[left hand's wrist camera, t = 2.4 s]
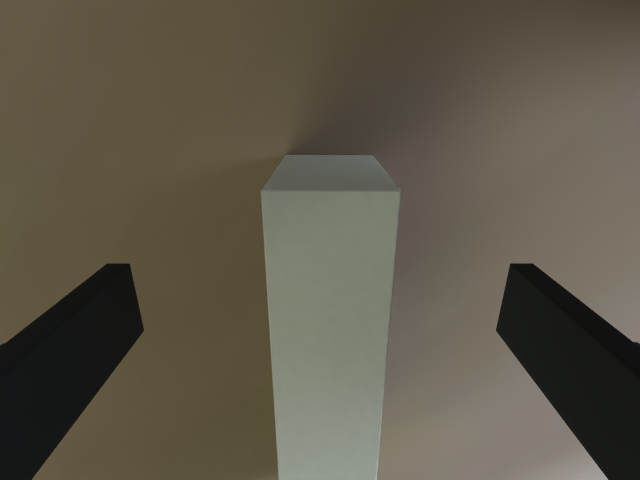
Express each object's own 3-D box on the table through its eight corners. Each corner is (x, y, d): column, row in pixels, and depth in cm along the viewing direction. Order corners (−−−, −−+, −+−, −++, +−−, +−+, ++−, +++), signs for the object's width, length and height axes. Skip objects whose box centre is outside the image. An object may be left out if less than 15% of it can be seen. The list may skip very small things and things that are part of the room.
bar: (284, 154, 22) (260, 189, 14) (373, 154, 22) (401, 190, 14) (295, 457, 32) (285, 584, 24) (356, 458, 32) (367, 586, 23)
